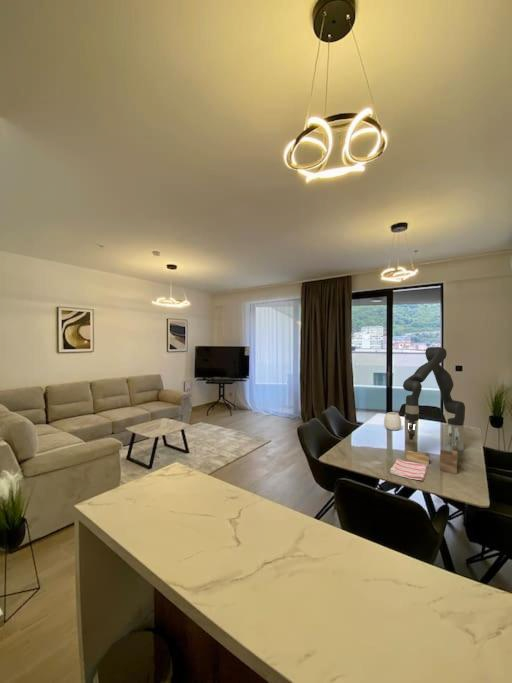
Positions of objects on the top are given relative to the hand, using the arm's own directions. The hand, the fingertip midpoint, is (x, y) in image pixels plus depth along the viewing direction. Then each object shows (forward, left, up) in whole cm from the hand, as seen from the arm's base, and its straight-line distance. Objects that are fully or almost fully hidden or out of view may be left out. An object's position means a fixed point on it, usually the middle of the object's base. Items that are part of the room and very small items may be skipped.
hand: (411, 437), depth 187 cm
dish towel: (+18, 0, -15) cm, 24 cm away
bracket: (-12, +21, -14) cm, 28 cm away
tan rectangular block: (0, +3, -14) cm, 14 cm away
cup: (-64, -21, -14) cm, 68 cm away
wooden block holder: (+4, +19, -14) cm, 24 cm away
